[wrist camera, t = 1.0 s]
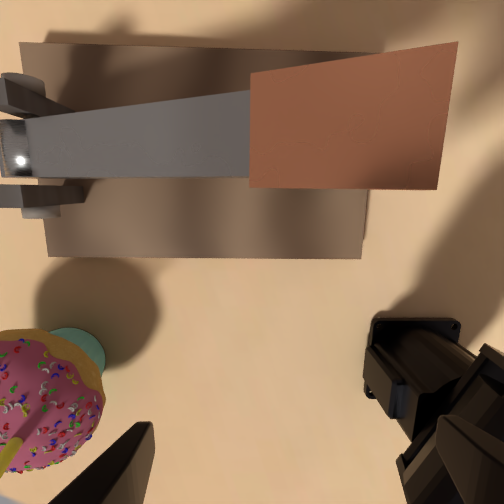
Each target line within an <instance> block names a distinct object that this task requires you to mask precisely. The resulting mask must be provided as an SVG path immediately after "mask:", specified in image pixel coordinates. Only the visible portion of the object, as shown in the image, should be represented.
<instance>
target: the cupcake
mask: <svg viewBox="0 0 504 504" xmlns="http://www.w3.org/2000/svg"><path fill="white" fill-rule="evenodd" d="M104 367H105V353H104V350H103V348H102V346H101V344H100V343H99V341H98V340H97V339H96V338H95V337H94V336H92V335H91V334H89V333H88V332H86V331H83V330H81V329H77V328H60V329H57V330H54V331H51V332H47V331H45V330H42V329H15V330H4V331H1V332H0V478H1V477H2V475H3V474H4V472H6V473H8V471H9V472H11V473H14V472H18V473H20V474H22V473H23V470H26V471H32V470H33V469H38V470H40V469H44V468H45V467H46V466H47V467H48V466H50V465H53V464H58V463H59V461H60V462H62V461H63V460H65V459H67V457H69V456H73V455H75V454H76V452H77V450H78V449H79V448H80V447H81V446H82V445H83V444H84V443H85V442H86V441H87V440H89V439H91V437H92V434H93V433H94V431H95V430H96V428H97V426H98V424H99V421H100V418H101V415H102V411H103V408H104V405H105V402H106V397H105V394H104V391H103V386H102V380H101V377H102V373H103V370H104ZM89 437H90V438H89ZM43 466H44V467H43Z"/></svg>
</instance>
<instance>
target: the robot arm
mask: <svg viewBox="0 0 504 504" xmlns="http://www.w3.org/2000/svg"><path fill="white" fill-rule="evenodd" d="M378 324H381V325H380V327H378V328H377V325H378ZM452 324H454V325H453V326H452V327H451V325H452ZM460 329H461V324H460V322H458V321H457V320H455V319H453V318H376V319H374V320H373V321H372V322H371V327H370V336H369V345H368V346H367V348H366V350H365V360H364V369H363V378H364V380H365V382H364V393H365V395H366V396H367V398H369V399H377V400H378V402H379V404H380V405H381V407H382V408H383V410H384V411H385V413H386V415H387V416H388V417H389V418H390V419H396V420H397V422H398V423H399V425H400V426H401V428H402V429H403V431H404V432H405V434H406V435H407V437H408V438H409V440H410V441H411V445H410V446H409V447H408V448H407V450H406V451H405V452H404V454H400V455H399V457H398V458H397V459H396V464H397V468H398V472H399V475H400V479H401V483H402V486H403V490H404V494H405V498H406V501H407V504H504V353H503V352H501V351H499V350H497V349H495V348H493V347H491V346H490V345H488V344H486V343H484V344H483V346H482V347H481V348H480V350H479V351H480V354H479V355H478V356H476V355H474V354H473V353H471V352H470V351H469V350H467V349H466V348H464V347H463V346H462V345H460V344H459V343H458V340H459V334H460ZM370 391H372V392H370ZM369 392H370V393H369ZM154 454H155V440H154V429H153V424H152V422H150V421H145V422H137V423H135V424H134V425H133V426H132V427H131V428H130V429H128V430H127V431H126V432H125V433H124V434H123V435H122V436H121V437H120V438H119V439H118V440H116V441H115V442H114V443H113V444H112V445H111V446H110V447H109V448H108V449H107V450H106V451H105V452H103V453H102V454H101V455H100V456H99V457H98V458H97V459H96V460H95V461H94V462H93V463H92V464H90V465H89V466H88V467H87V468H86V469H85V470H84V471H83V472H82V473H81V474H80V475H79V476H77V477H76V478H75V479H74V480H73V481H72V482H71V483H70V484H69V485H68V486H67V487H65V488H64V489H63V490H62V491H61V492H60V493H59V494H58V495H57V496H56V497H55V498H54V499H52V500H51V501H50V502H49V503H48V504H143V501H144V497H145V493H146V489H147V484H148V480H149V476H150V472H151V467H152V463H153V459H154Z"/></svg>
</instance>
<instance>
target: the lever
mask: <svg viewBox="0 0 504 504" xmlns="http://www.w3.org/2000/svg"><path fill="white" fill-rule="evenodd" d="M457 47H458V42H451V43H445V44H438V45H432V46H425V47H419V48H412V49H406V50H399V51H393V52H386V53H380V54H373V55H367V56H360V57H354V58H347V59H341V60H334V61H328V62H321V63H315V64H308V65H302V66H295V67H289V68H282V69H276V70H269V71H262V72H256V73H251V77H250V90H246V91H238V92H230V93H223V94H215V95H207V96H199V97H192V98H184V99H176V100H169V101H161V102H153V103H145V104H138V105H130V106H122V107H115V108H107V109H99V110H91V111H84V112H76V113H68V114H61V115H53V116H45V117H37V118H30V119H22V120H12V119H4V120H0V170H1V176H2V177H4V178H31V179H119V178H249V188H289V189H368V190H437V185H438V178H439V171H440V164H441V157H442V150H443V143H444V137H445V130H446V123H447V116H448V109H449V102H450V95H451V89H452V82H453V75H454V68H455V61H456V54H457Z"/></svg>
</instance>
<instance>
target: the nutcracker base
mask: <svg viewBox="0 0 504 504" xmlns="http://www.w3.org/2000/svg"><path fill="white" fill-rule="evenodd" d="M19 46H20V54H21V61H22V68H23V74H19V73H2V74H1V78H0V111H1V112H4V113H8V114H11V115H14V116H17V117H20V118H23V119H30V118H37V117H45V116H53V115H61V114H68V113H76V112H84V111H91V110H99V109H107V108H115V107H122V106H130V105H138V104H145V103H153V102H161V101H169V100H176V99H184V98H192V97H199V96H207V95H215V94H223V93H230V92H238V91H246V90H250V77H251V73H256V72H262V71H269V70H276V69H282V68H289V67H295V66H302V65H308V64H315V63H321V62H328V61H334V60H341V59H347V58H354V57H360V56H367V55H373V54H380V53H359V52H326V51H294V50H261V49H228V48H195V47H162V46H129V45H96V44H63V43H30V42H19ZM367 193H368V189H289V188H249V178H119V179H38V185H4V184H0V208H21V210H22V217H23V218H25V219H43V221H44V228H45V236H46V243H47V250H48V257H134V258H268V259H361V255H362V244H363V234H364V224H365V213H366V203H367Z"/></svg>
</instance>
